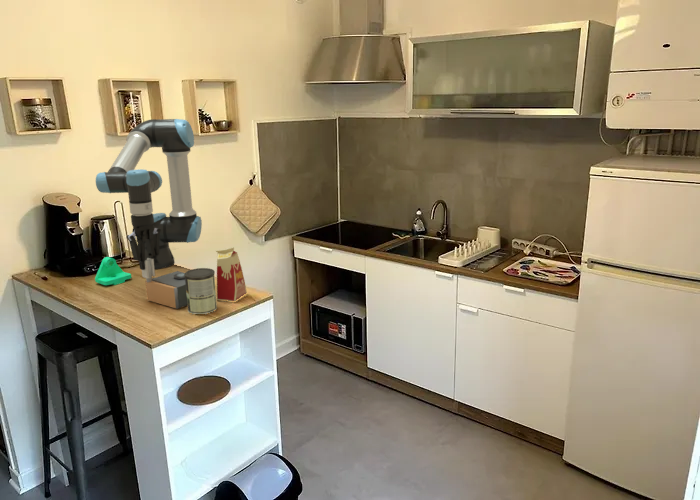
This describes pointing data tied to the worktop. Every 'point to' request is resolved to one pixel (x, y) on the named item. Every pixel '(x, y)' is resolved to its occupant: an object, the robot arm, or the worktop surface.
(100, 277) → the camera mount
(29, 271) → the worktop surface
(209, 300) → the coffee can
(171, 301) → the side door
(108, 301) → the worktop surface
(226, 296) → the red snack bag
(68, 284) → the worktop surface
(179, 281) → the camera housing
